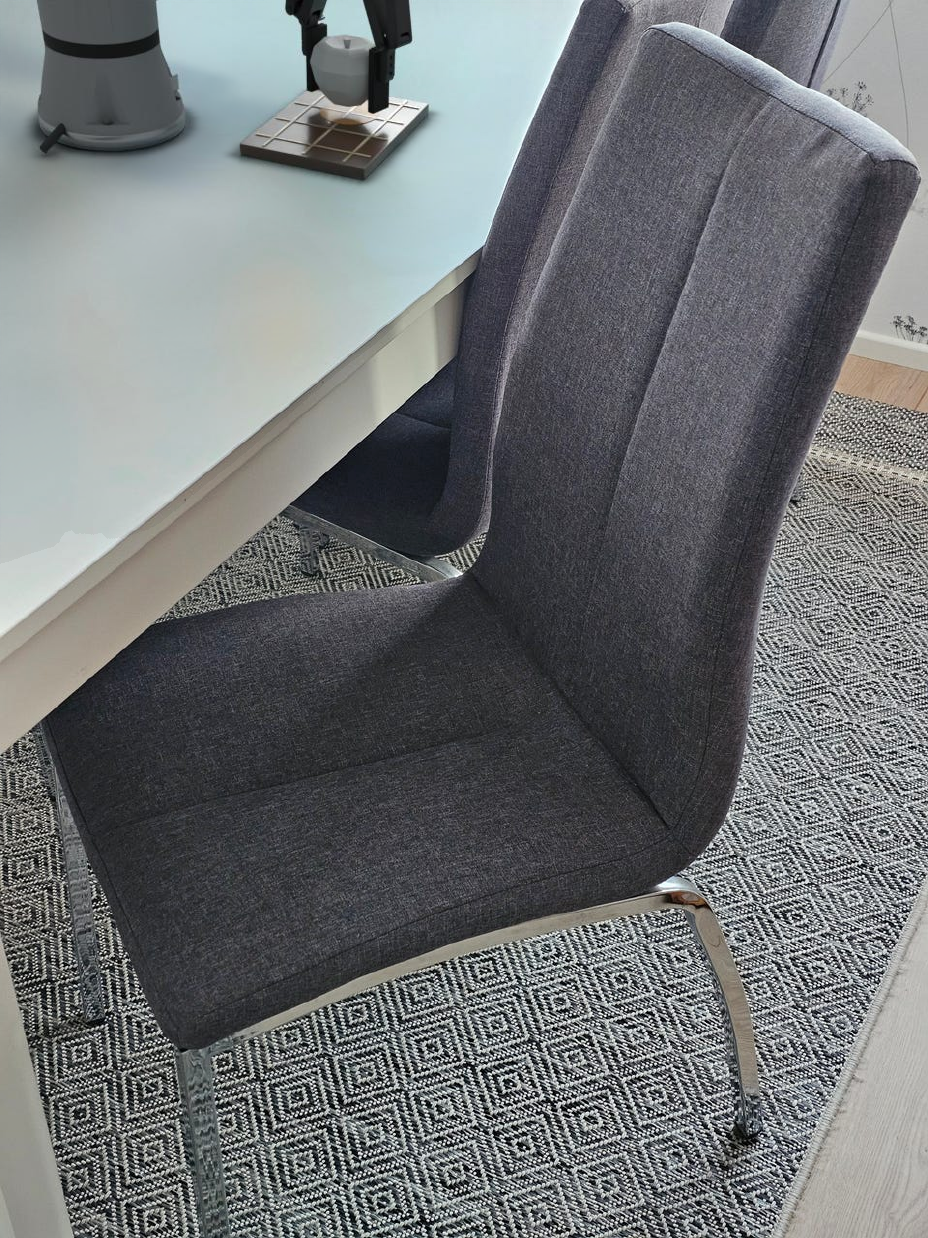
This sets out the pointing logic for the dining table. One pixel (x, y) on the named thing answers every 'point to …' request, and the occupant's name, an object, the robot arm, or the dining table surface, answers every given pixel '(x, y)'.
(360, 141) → the board
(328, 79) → the apple
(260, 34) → the dining table surface
